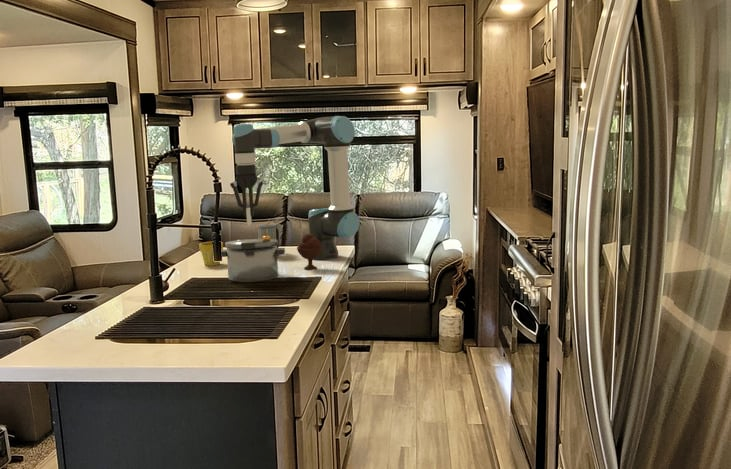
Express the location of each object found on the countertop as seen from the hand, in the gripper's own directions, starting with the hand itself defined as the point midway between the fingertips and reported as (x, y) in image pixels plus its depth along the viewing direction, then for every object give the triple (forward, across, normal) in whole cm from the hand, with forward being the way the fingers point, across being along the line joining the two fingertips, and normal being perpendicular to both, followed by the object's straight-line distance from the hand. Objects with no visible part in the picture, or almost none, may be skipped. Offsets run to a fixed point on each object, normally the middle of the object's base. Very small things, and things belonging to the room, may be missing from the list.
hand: (249, 224), depth 242 cm
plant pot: (+22, +22, -36) cm, 48 cm away
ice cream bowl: (+23, -22, -17) cm, 36 cm away
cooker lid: (+9, 0, -5) cm, 10 cm away
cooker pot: (+22, 0, -5) cm, 23 cm away
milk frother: (+23, +2, -55) cm, 59 cm away
